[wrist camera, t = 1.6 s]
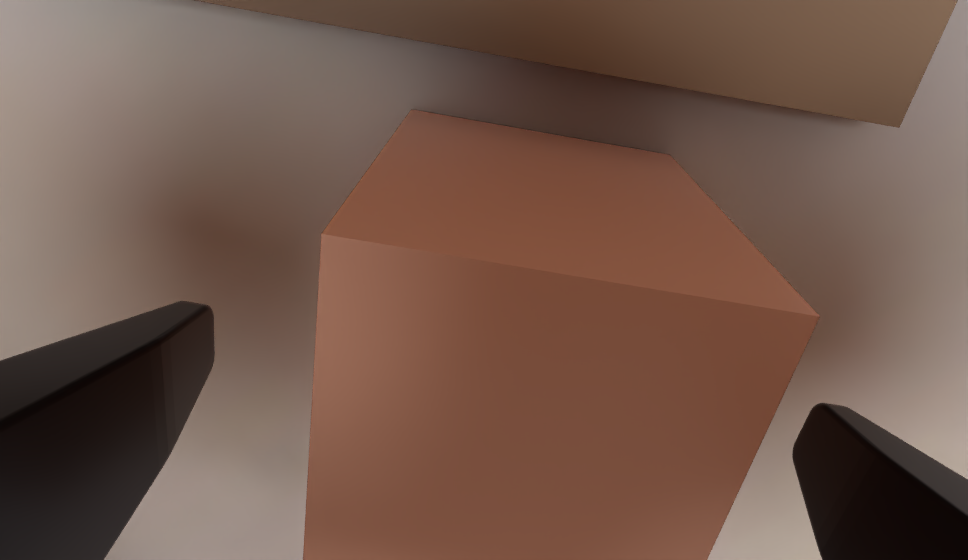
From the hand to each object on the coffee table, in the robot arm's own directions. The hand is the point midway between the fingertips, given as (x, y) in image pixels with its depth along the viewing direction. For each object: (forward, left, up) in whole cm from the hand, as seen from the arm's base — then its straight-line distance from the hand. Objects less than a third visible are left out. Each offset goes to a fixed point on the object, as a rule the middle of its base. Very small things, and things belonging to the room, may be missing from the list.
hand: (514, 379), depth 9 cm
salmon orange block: (0, 0, -5) cm, 5 cm away
